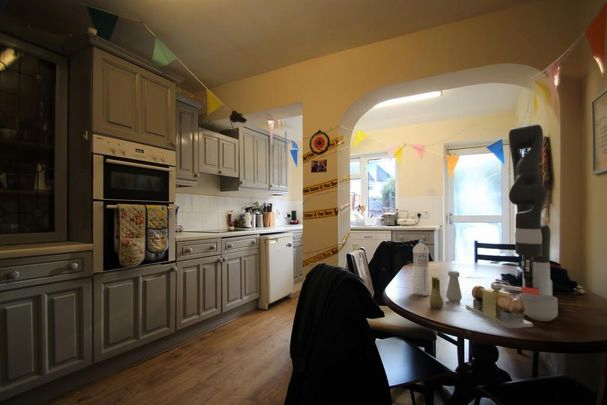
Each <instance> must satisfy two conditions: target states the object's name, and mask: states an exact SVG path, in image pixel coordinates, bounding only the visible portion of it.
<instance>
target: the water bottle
mask: <svg viewBox="0 0 607 405" xmlns="http://www.w3.org/2000/svg"><path fill="white" fill-rule="evenodd" d="M423 242H424V239H418V243H416V244H415V246H414V247H412V253H413V254H412V257H413V258H412V273H413V274H412V290H413V291H412V293H413V294H414V295H415V296H419V297H428V296H429V294H430V279H429V278H430V266H429V262H430V261H429V260H430V258H429V257H430V256H429V253H430V250H429V248H428V246H427V245H426V244H424V243H423Z"/></svg>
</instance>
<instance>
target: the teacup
mask: <svg viewBox="0 0 607 405" xmlns="http://www.w3.org/2000/svg"><path fill="white" fill-rule="evenodd" d="M519 299H520V300H522V301H523V302H524V303H525V312H524V313H523V315H525V316H526V317H528V318H529V319H531V320H534V321H539V322H550V321H552V320H554V319H556V318H557V317H558V314H559V310H558V308H559V307H558V306H559V305H558V301H559V300H558V298H557V297H556V296H553V295H552V296H550V295H546V294H540V293H539V295H532V294H525V293H522V292H521V293H519Z"/></svg>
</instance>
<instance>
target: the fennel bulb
mask: <svg viewBox="0 0 607 405" xmlns="http://www.w3.org/2000/svg"><path fill="white" fill-rule="evenodd" d="M440 285H441V283H440V278H439V277H436V276H432V277H431V291H430V296H429V306H430V307H431V308H432V309H437V310H440V309H442V308H443V306H444V300H443V298H442V295H441V290H440V289H441V288H440V287H441V286H440Z"/></svg>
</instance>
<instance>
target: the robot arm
mask: <svg viewBox="0 0 607 405" xmlns="http://www.w3.org/2000/svg"><path fill="white" fill-rule="evenodd" d="M508 142H509V149H510V155H511V161H512V162H511V163H512V171H513V185H512V186H511V188H510V190H509V192H508V199H509V201H510V202H511V204H513V205H515V206H516V212H517V213H516V214H515V233H514V238H515V239H514V244H515V245H514V246H515V250H514V251H515V254H516V255H520V256H522V259H521V263H520V264H521V266H522V267H521V268H522V269H521V270H522V286H526V287H534V288H539V293H540V294H546V295H550V296H553V280H552V279H551V264H550V262H551V261H550V260H551V258H550V256H551V254H550V253H551V251H550V247H551V227H550V226H549V225H548V224H546V223H544V224H543V223H542V222H541V221H542V211H543V209H544V205H545V203H546V200H547V196H548V191H547V189H546V187H545V186H544V185H542V183H543V182H542V178H541V176H540V175H541V174H540V163H541V162H540V161H541V156H542V151H543V147H544V146H543V143H544V131H543V128H542V125H541V124H537V123H536V124H530V125H525V126H520V127H519V126H518V127H514V128H510V130H509V132H508ZM526 149H527V150H528V149H529V150H528V151H527V152H526V153H525V154H524V155H523V154H522V152H521V150H526Z"/></svg>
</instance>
